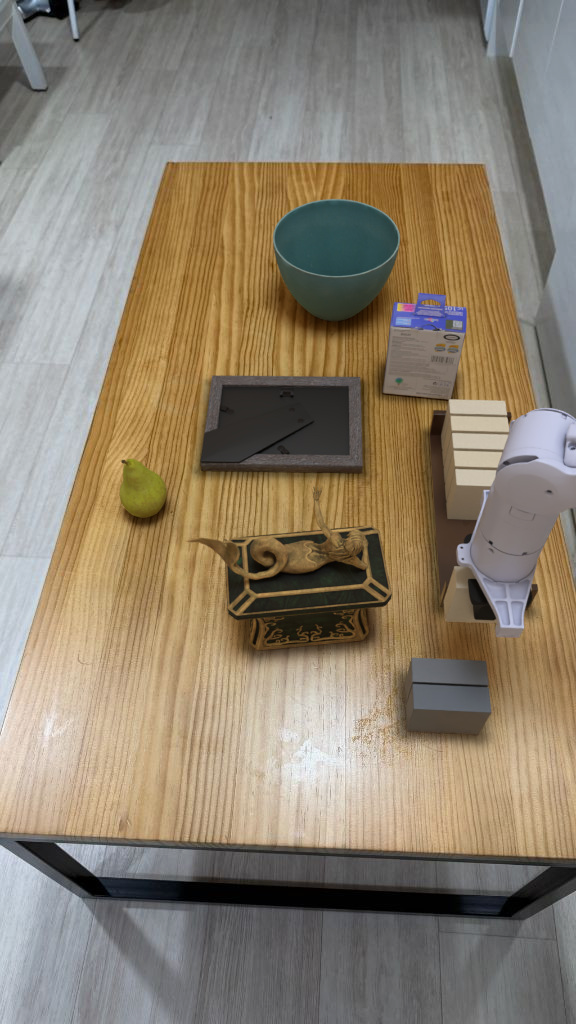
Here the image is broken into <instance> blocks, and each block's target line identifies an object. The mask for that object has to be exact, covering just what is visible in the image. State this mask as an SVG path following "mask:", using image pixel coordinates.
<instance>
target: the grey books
mask: <svg viewBox="0 0 576 1024" xmlns="http://www.w3.org/2000/svg"><path fill="white" fill-rule="evenodd" d="M487 662H488V661H487V660H477V659H476V660H475V659H455V658H435V657H434V658H433V657H431V658H430V657H411V659H410V661H409V665H408V670H407V673H406V676H405V680H404V701H405V703H404V704H405V729H406V732H416V733H417V732H418V733H435V734H436V733H437V734H438V733H439V734H455V735H456V734H459V735H477V736H478V735H480V734H481V732H482V730H483V728H484V726H485V725H486V723H487V721H488V719H489V718H490V716H491V714H492V704H491V703H492V702H491V692H490V687H489V686H490V683H489V674H488V673H489V672H488V663H487Z"/></svg>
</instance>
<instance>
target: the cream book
mask: <svg viewBox="0 0 576 1024" xmlns="http://www.w3.org/2000/svg"><path fill="white" fill-rule="evenodd" d="M468 579H476V578H475V576H474V574H473V572H472V570H471V569H470V568H469V567H462V566H455V567H454V570H453V573H452V576H451V579H450V582H449V586H448V589H447V592H446V595H445V598H444V607H443V611H444V613H443V614H444V621H445V622H449V623H476V624H477V623H478V624H497V619H495V620H475V619H474V613H473V605H472V603H471V601H470V597H469V589H468ZM531 591H532V587H531Z"/></svg>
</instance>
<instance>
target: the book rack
mask: <svg viewBox="0 0 576 1024" xmlns="http://www.w3.org/2000/svg"><path fill="white" fill-rule="evenodd" d="M446 411H447V409H446V410H445V409H444V410H443V409H433V410H432V415H431V420H430V425H429V429H428V430H429V431H428V444H429V446H428V448H429V460H430V461H429V463H430V477H431V492H432V505H433V507H432V508H433V522H434V523H433V524H434V537H435V553H436V567H437V568H436V569H437V582H438V583H437V585H438V598H439V607H440V608H444V598H445V595H446V592H447V589H448V586H449V582H450V579H451V576H452V573H453V570H454V567H455V566H460V565H458V563H457V555H456V550H457V547H458V545H459V544H464V539H465V537H466V536H467V535H468V534H471V533H473V532H474V529H475V526H476V523H477V520H459V519H447V506H446V503H447V501H446V493H445V484H446V483H445V480H444V466H443V455H442V451H443V449H442V442H441V433H442V429H443V424H444V420H445V415H446ZM512 417H513V416H512V412H511V411H507V418H508V424H509V425H510V423H511V421H512ZM531 587H532V591H531V592H532V601H531V603H530V605H529V606H528V607H525V611H529V609H530V607H531V605H532V603H533V601H534V599H535V597H536V596H537V594H538V591H539V586H538V584H537V583H532V585H531Z"/></svg>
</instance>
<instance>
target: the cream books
mask: <svg viewBox="0 0 576 1024" xmlns="http://www.w3.org/2000/svg"><path fill="white" fill-rule="evenodd" d="M446 410H447V411H446V415H445V420H444V424H443V429H442V433H441V442H442V449H443V451H442V455H443V466H444V480H445V483H446V484H445V493H446V501H447V503H446V506H447V519H459V520H478V517H479V514H480V511H481V507H480V500H481V496H482V493H483V490H490V488H491V485H492V483H493V481H494V480H495V477H496V470H497V467H498V464H499V461H500V458H501V455H502V452H503V449H504V447H505V444H506V441H507V438H508V435H509V427H510V423H509V424H508V418H507V412H508V411H507V405H506V400H495V399H494V400H493V399H491V400H489V399H488V400H487V399H457V398H456V399H454V398H453V399H452V398H451V399H449V400H448V402H447V406H446Z"/></svg>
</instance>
